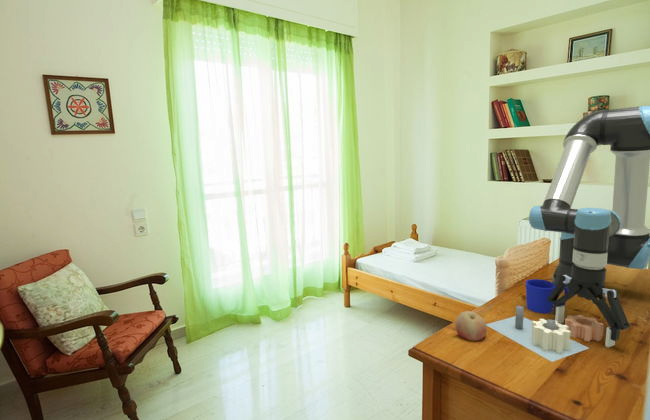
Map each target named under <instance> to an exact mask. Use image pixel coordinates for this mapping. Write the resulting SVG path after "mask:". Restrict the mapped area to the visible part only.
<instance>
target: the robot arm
mask: <svg viewBox="0 0 650 420" xmlns="http://www.w3.org/2000/svg"><path fill="white" fill-rule="evenodd" d="M598 146H610V149H609V150H610V152H611V153H613V154H614V155H615V163H614V178H613V195H612V209H611V210H610V209H606V208H600V207H581V208H572V206H573V203H574V200H575V197H576V195H577V192H578V189H579V187H580V184H581V182H582V181H581V180H582V177H583V175H584V172H585V169H586V167H587V164H588V162H589V158H590V156H591V154H593V153H594V152H595V151H596V150H597V147H598ZM562 147H563V151H562V154H561V157H560V158H559V162H558V164H557V168H556V170H555V172H554V174H553V178H552V180H551V182H550V185H549V186H548V190H547V193H546V195H545V197H544V201H543V202H542V203H543V204H542V205H535V206H533V207H532V208H531V209H530V212H529V215H528V218H529V219H528V223H529V225H530V227H531V228H532V229H534V230H535V229H536V230H540V231H543V232H555V233H560V237H559V240H560V241H559V256H558V264H557V266H556V268H555V271H554V272H553V274H552V277H551V278H552V281H551V282H552V283H553V284H555V286H556V287H555V288H554V290H553V291H552V293H551V294H550V295H549V297H548V298H547V300H548V301H549V302H552V303H553V306H554V308H553V309H552V311H553V312H552V313H553V316H554V320H555V321H558V323H559V324H561V325H562V324H565V309H566V308H565V307H566V306H565V305H564V306H563V305H562V306H561V304H563V303H565V302H568V301H570V300H571V299H572V298H573V297H575V296H576V295H577V297H579V298H583V299H585V300H587V301H592V303H593V305H596V308H597V309H598V310H599V312H600V313H601V315H602V316H603V318H604V319H605V322H606V323H607V324H608V326H607V327H606V334H605V342H604V343H605V344H604V346H605V347H606V348H610V347H611V348H612V347H613V346H615V345H616V341H618V340H619V339H620V336H621V335H620V334H621V331H624V330H628V329H630V327H631V326H630V323H629V321H628V318H627V316H626V313H625V311H624V308H623V307H622V304H621V301H620V299H619V290H617V289H616V288H614V289H610V288H606V287H605V283H606V277H607V276H606V275H607V265H611V266H617V267H622V268H627V269H635V270H643V269H645V268H646V267H648V265H649V263H650V229H649V228H648V227H647V226H646V225H645V223H646V211H647V200H648V199H647V198H648V187H649V186H648V185H649V178H650V177H649V175H650V105H640V106H632V107H631V106H630V107H621V108H611V109H601V110H596V111H592V113H590V114H587V115H586V116H583V117H582V118H581V119H580V120H579V121H577V122H576V123H575V124H573V126H572V127H571V128H570V129H569V131H568V132H567V134H566V135H565V137H564V140H563V142H562ZM565 287H568V292H567V293H566V294H563V295H561V294H562V293H563V291H565ZM603 294H604V295H603ZM560 295H561V296H560ZM565 304H566V303H565Z"/></svg>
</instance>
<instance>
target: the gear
mask: <svg viewBox="0 0 650 420" xmlns="http://www.w3.org/2000/svg"><path fill="white" fill-rule="evenodd" d="M547 320H548V319H544V318H539V319H538V321H537V320H536V321H535V320H532V321H533V322H532V334H531V339H532V343H533V344H534V345H539V346H540V347H542V350H545V351H548V350H552V351H556V352H557V353H562V350H563V349H564V350H569V346H570V339H571V334H570V333H571V331H569V327H568V326H567V325H565V324H562V323H561V324H559V323H558V321H555V319H553V320H554V321H555V322H556V325H555V330H550V329H547V328H546V325H547Z"/></svg>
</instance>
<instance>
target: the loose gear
mask: <svg viewBox="0 0 650 420" xmlns="http://www.w3.org/2000/svg"><path fill="white" fill-rule="evenodd" d="M564 325H567V326H568V327H569V331H571V333H570V337H572V338H575V339H576V338H579V339H583V340H584V342H591V341H594V340H595V341H597V342H599V341H602V338H603V337H604V326H605V324H604V323H603V322H599V321H598V320H597V319H596V317H595V318H594V317H586V316H584V315H583V314H577V315H571V314H569V315H567V316H566V318H565V317H564Z"/></svg>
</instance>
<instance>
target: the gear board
mask: <svg viewBox="0 0 650 420" xmlns="http://www.w3.org/2000/svg"><path fill="white" fill-rule="evenodd" d="M524 311H525V307H524V306H523V305H516V306H515V315H514V316H511V317H508V318H504V319H501V320H497V321H493V322H490V323H486V326H487V327H488V328H490V329H493V330H494V331H495V332H497V333H499V334H501V335H503V336H504V337H506V338H508V339H510V340H512V341H513V342H515V343H517V344H519V345H521V346H523V347H524V348H525V349H528V350H530V351H531V352H533V353H535V354H537V355H538V356H540V357H542V358H543V359H545V360H548V361H549V362H551V363H553V362H556V361H558V360H562V359H564V358H567V357H569V356H573V355H575V354H577V353H580V352H583V351H587V350H589V349H590V347H588V346H586V345H584V344H582V343H579V342H578V341H576V340H573V339H571V338H570V346H569V350H564V349H563V350H562V353H557V352H556V351H552V350H548V351H545V350H542V347H540V346H539V345H534V344H533V343H532V339H531V334H532V322H533V321H534V320H532V319H529V318H527V317H524V314H525V313H524ZM546 320H547V325H546V328H547V329H550V330H555V325H556V322H555V321H554V320H555V319H551V318H550V319H546Z"/></svg>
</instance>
